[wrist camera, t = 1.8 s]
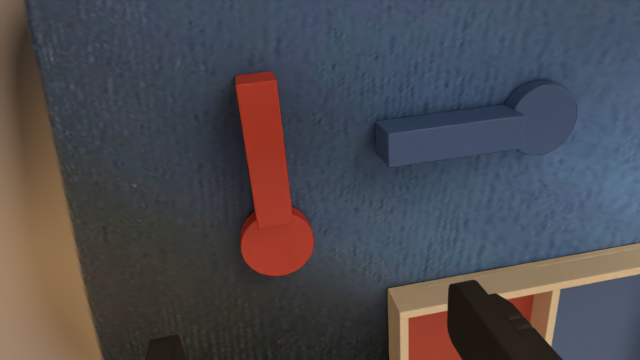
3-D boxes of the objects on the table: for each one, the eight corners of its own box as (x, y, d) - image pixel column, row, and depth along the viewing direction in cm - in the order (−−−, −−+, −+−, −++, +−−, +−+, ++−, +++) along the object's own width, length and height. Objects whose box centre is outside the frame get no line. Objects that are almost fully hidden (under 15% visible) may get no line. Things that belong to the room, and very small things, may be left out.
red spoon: (211, 77, 24) (209, 87, 22) (294, 68, 25) (301, 76, 22) (245, 271, 29) (247, 295, 27) (314, 259, 30) (321, 282, 27)
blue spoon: (376, 171, 28) (389, 188, 26) (373, 100, 26) (387, 111, 24) (559, 144, 29) (587, 158, 27) (569, 75, 28) (599, 84, 25)
